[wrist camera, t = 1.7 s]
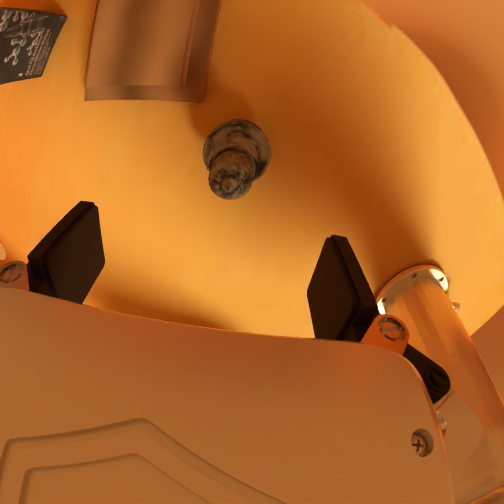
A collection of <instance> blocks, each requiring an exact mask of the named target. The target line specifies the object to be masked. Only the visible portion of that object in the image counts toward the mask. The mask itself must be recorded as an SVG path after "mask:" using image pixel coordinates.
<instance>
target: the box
mask: <svg viewBox="0 0 504 504" xmlns="http://www.w3.org/2000/svg"><path fill="white" fill-rule="evenodd" d="M66 19H67V16H64V15H60V14H55V13H50V12H45V11H40V10H30V9H20V8H5V7H0V85H1V84H5V83H9V82H14V81H20V80H25V79H31V78H37V77H41V76H42V74H43V71H44V68H45V66H46V63H47V61H48V58H49V55H50V53H51V51H52V48H53V46H54V44H55V41H56V39H57V37H58V35H59V33H60V31H61V29H62V27H63V24H64V23H65V21H66Z"/></svg>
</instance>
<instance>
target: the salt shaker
mask: <svg viewBox="0 0 504 504" xmlns="http://www.w3.org/2000/svg"><path fill="white" fill-rule="evenodd" d="M203 158H204V163H205V165H206V167H207V169H208V171H209V172H210V173H209V178H208V179H209V185H210V188H211V190H212V191H213V192H214V193H215V194H216V195H217V196H218V197H220V198H223V199H227V200H235V199H238V198H241V197H242V196H244V195H245V194H246V193H247V192H248V191H249V189H250V187H251V185H252V182H254V181H255V180H257V179H258V178H260V177H261V176H262V175H263V174H264V173H265V171H266V169H267V167H268V166H269V163H270V159H271V148H270V145H269V142H268V139H267V138H266V136H265V135H264V133H263V132H262V131H261V129H260V128H259V127H258V126H256V125H255V124H254V123H252V122H249V121H247V120H241V119H239V120H232V121H229V122H226V123H225V124H222V125H220V126H219V127H217V128H216V129H214V130H213V131H212V132H211V134H210V135H209V136H208V137H207V139H206V142H205V144H204V149H203Z"/></svg>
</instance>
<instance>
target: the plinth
mask: <svg viewBox="0 0 504 504" xmlns="http://www.w3.org/2000/svg"><path fill="white" fill-rule="evenodd" d="M221 1H222V0H98V3H97V7H96V12H95V17H94V22H93V28H92V34H91V40H90V47H89V54H88V63H87V73H86V85H85V101H94V100H167V101H184V102H196V103H200V102H203V101H204V96H205V89H206V82H207V76H208V69H209V63H210V57H211V52H212V46H213V41H214V35H215V30H216V25H217V20H218V15H219V10H220V6H221Z"/></svg>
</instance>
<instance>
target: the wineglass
mask: <svg viewBox="0 0 504 504" xmlns="http://www.w3.org/2000/svg"><path fill="white" fill-rule="evenodd" d="M5 258H6V251H5V248H4V246H3V244H2V243H1V242H0V260H5Z"/></svg>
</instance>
